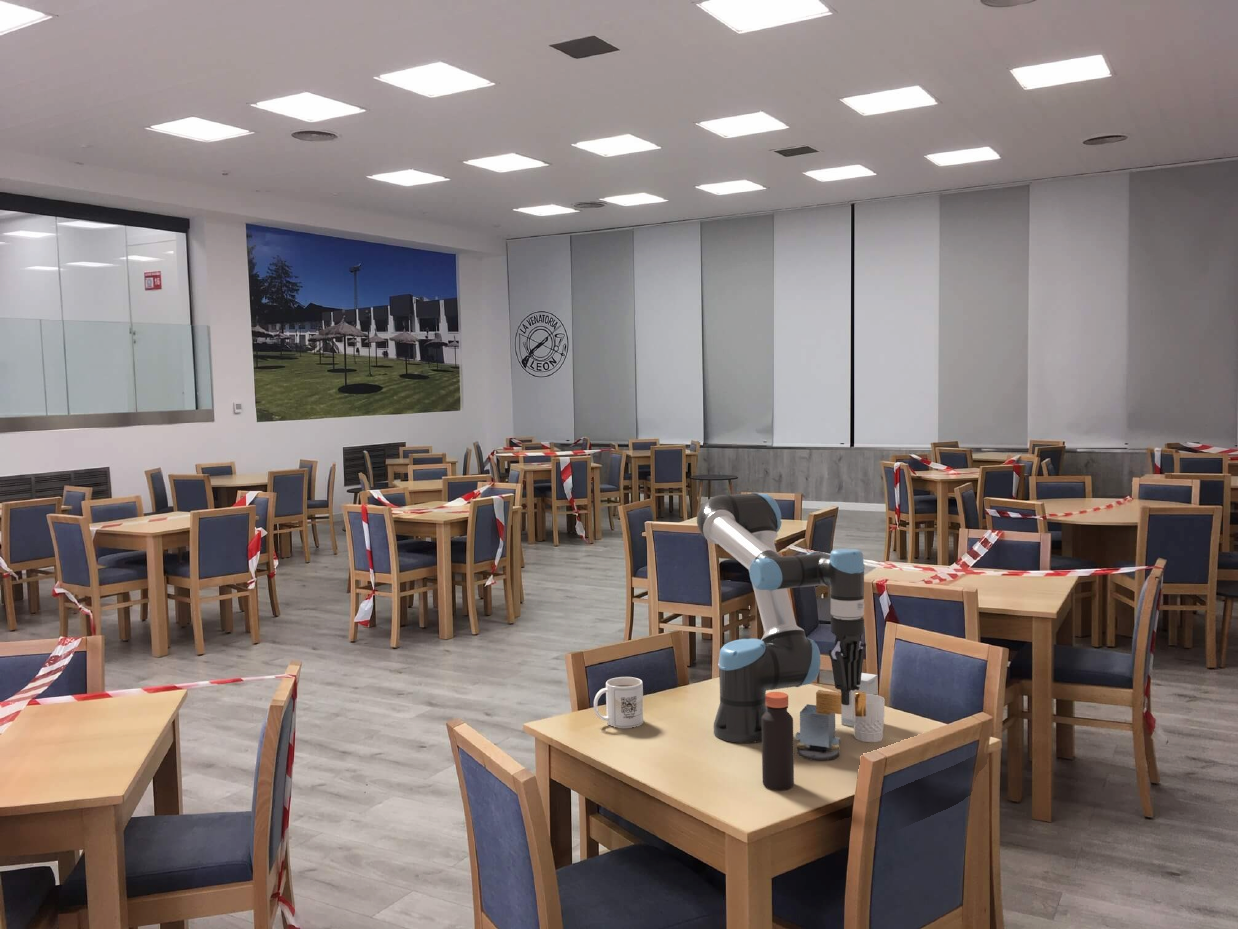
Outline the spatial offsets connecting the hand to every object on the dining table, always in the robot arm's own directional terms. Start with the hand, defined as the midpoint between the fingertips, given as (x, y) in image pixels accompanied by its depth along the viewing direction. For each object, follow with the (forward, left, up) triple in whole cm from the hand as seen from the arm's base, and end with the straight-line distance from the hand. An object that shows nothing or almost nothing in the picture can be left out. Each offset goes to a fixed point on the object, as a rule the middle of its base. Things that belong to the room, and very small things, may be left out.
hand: (848, 717), depth 215 cm
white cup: (+5, +18, -11) cm, 22 cm away
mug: (-59, +19, -11) cm, 63 cm away
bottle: (-15, -16, -11) cm, 24 cm away
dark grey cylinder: (-7, +5, -11) cm, 14 cm away
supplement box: (+3, +29, -11) cm, 31 cm away
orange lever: (-4, +4, -8) cm, 10 cm away
